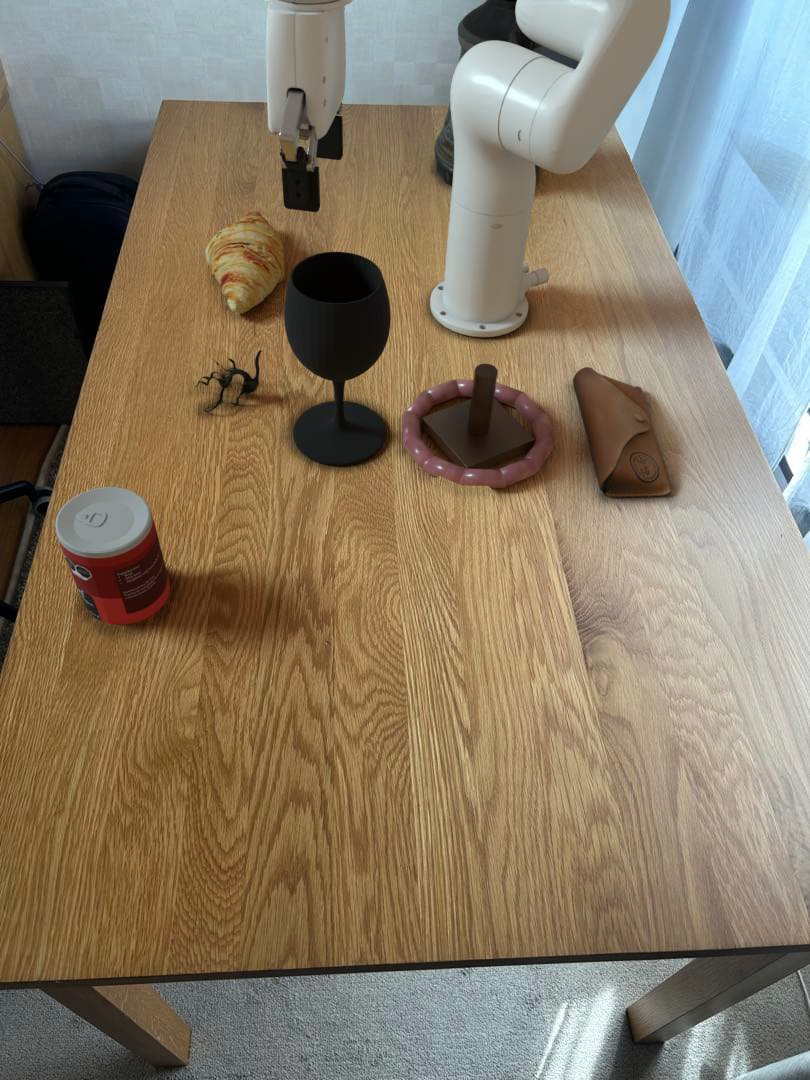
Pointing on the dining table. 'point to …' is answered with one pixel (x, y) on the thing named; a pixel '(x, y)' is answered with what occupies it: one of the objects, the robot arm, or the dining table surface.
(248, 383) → the creature
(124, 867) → the dining table surface
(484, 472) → the ring
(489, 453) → the stand
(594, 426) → the sunglasses case
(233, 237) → the croissant
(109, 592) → the canned food
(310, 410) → the wine glass
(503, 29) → the beer stein
